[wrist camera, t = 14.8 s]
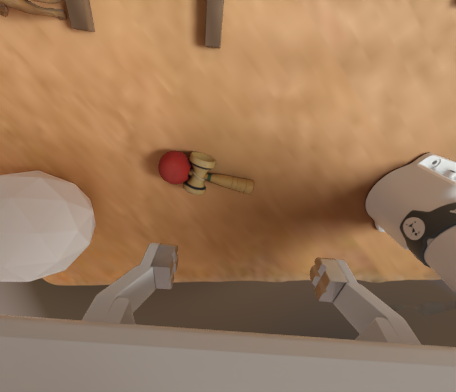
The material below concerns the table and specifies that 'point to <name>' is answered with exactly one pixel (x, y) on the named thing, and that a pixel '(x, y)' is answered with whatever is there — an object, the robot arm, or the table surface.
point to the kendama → (197, 173)
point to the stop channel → (83, 21)
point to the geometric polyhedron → (41, 225)
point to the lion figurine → (32, 8)
